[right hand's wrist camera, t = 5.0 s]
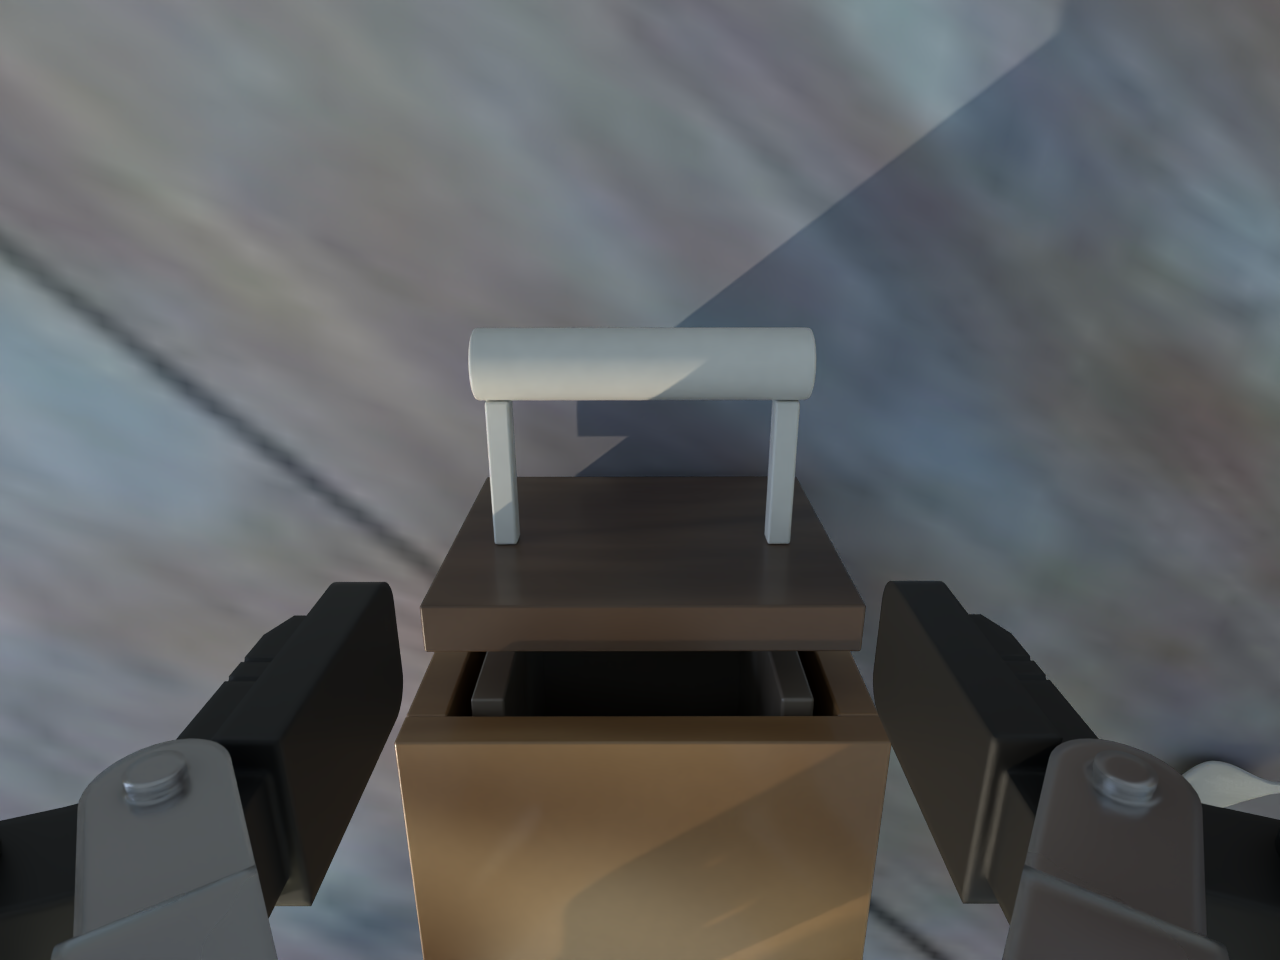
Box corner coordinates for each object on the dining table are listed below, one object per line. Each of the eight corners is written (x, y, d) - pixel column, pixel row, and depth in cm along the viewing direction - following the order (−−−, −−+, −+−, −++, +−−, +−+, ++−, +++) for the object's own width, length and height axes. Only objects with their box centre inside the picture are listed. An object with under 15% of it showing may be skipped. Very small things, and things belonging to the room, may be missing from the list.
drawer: (474, 300, 23) (391, 358, 16) (809, 300, 23) (894, 357, 16) (513, 840, 31) (470, 1065, 23) (769, 840, 31) (814, 1065, 23)
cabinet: (480, 545, 27) (393, 743, 18) (802, 544, 27) (892, 742, 18) (508, 899, 33) (454, 1197, 23) (774, 899, 33) (831, 1196, 23)
